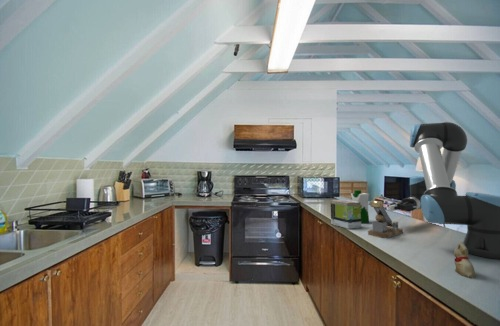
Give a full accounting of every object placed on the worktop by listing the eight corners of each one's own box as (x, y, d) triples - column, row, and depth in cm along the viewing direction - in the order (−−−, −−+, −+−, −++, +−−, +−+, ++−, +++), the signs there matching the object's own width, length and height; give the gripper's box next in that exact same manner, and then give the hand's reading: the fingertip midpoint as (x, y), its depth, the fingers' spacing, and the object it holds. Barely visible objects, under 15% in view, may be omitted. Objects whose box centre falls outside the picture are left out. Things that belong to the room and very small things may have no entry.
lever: (384, 220, 139) (371, 199, 132) (394, 222, 135) (381, 200, 128) (382, 225, 137) (369, 204, 131) (392, 227, 133) (379, 205, 127)
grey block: (377, 230, 134) (376, 220, 135) (386, 231, 130) (386, 221, 130) (372, 231, 132) (372, 221, 132) (382, 233, 128) (382, 222, 128)
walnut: (384, 222, 129) (384, 215, 129) (376, 222, 130) (376, 214, 130) (382, 220, 133) (381, 213, 133) (374, 220, 133) (374, 213, 134)
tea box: (362, 227, 149) (361, 201, 150) (348, 229, 146) (347, 202, 146) (343, 222, 163) (342, 199, 164) (330, 224, 160) (329, 200, 160)
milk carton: (350, 221, 165) (349, 190, 165) (359, 220, 169) (358, 189, 170) (362, 224, 157) (361, 191, 158) (371, 222, 162) (370, 190, 162)
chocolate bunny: (477, 271, 85) (475, 240, 85) (474, 279, 79) (473, 246, 80) (455, 267, 89) (454, 237, 89) (451, 274, 83) (450, 242, 84)
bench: (385, 229, 143) (385, 218, 143) (402, 232, 136) (402, 221, 136) (368, 234, 133) (367, 222, 133) (385, 238, 126) (385, 225, 126)
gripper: (423, 212, 146) (403, 217, 133) (398, 209, 157) (378, 214, 143) (422, 198, 147) (402, 202, 133) (398, 196, 157) (377, 200, 143)
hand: (389, 208), depth 138 cm, fingers closed
